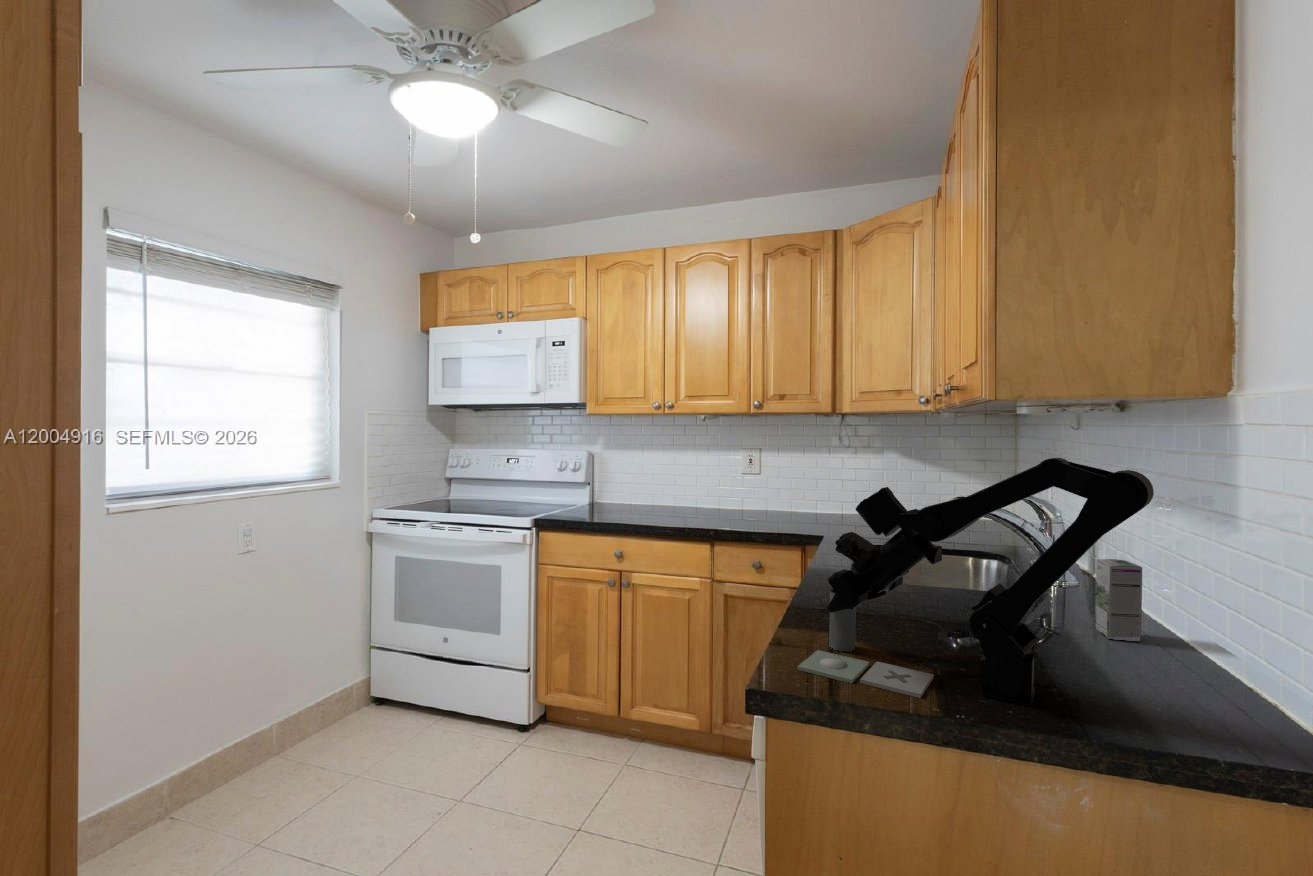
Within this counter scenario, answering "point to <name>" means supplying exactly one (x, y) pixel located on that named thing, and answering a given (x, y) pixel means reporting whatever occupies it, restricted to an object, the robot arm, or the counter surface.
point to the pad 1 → (833, 666)
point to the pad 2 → (897, 679)
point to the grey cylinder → (842, 628)
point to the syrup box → (1118, 598)
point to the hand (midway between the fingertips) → (835, 607)
